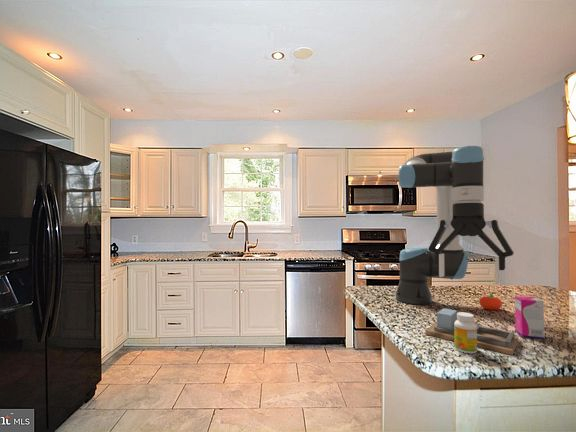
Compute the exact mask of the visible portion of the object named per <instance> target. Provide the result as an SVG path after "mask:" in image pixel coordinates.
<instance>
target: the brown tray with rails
mask: <svg viewBox="0 0 576 432" xmlns="http://www.w3.org/2000/svg"><path fill="white" fill-rule="evenodd" d="M476 326H477V348H481V349H485V350H489V351H494V352H498V353H500V354H507V355H510V356H513V355H514V353H515V350H516V348H517V345H518V342H519V336H515V332H513V331H512V332H511V331H506V330H503V329H497V328H493V327H492V328H491V327H487V326H482V325H477V324H476ZM425 335H427V336H431V337H435V338H439V339H443V338H444V340H447V339H448V341H451V340H452V342H454V330H453V331H452V330H447V329H443V328H438V327H437V321H436V322H434V323H433V324H432V325H430V326H429V327H428V328H427V329H425Z"/></svg>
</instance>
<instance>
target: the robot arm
mask: <svg viewBox="0 0 576 432" xmlns="http://www.w3.org/2000/svg"><path fill="white" fill-rule="evenodd" d="M483 151H484V150H483V148H482V146H478V145H464V146H461V147H457V148H454V149H453V150H452V151H447V152H445V151H443V152H433V153H421V154H418V155H416V156H412V157H410V158H409V159H406V161H405V162H404V164H401V165H400V166H399V167H398V186H399V187H400V188H408V189H411V188H425V187H427V188H428V187H429V188H430V187H435V188H436V233H435V235H434V237H433V239H432V241H431V242H430V245H429V246H428V247H423V246H422V247H411V248H409V247H408V248H404V249H402V250H400V253H399V259H398V261H399V283H398V285H397V288H396V292H395V300H396V301H399V302H401V303H405V304H412V305H429V304H432V303H433V295H432V292H431V289H430V286H429V283H428V282H429V281H428V278H430V279H431V278H432V279H446V280H462V279H463V278H465V276H466V274H467V270H468V265H469V260H468V258H469V255H468V253H467V252H466V251H464V247H463V246H461V245H462V244H460V237H466V236H467V237H468V236H469V237H475V236H478V237H479V238H480V239H481V240H482V241H483V242H484V243H485V244H486V245H487V246H488V247H489V248H490V249H491V250H492V251H493V252H494V253H495V254H496V255H497V256H496V257H495V259H494V261H495V262H494V266H495V269H494V270H495V271H494V272H495V274H494V275H495V277H494V278H495V280H494V282H495V284H500V283H501V271H505V269H506V258H507V257H508V258H509V257H511V256H513V255H514V254H515V253H514V250H513V249H512V248H511V246H510V244H509V242H508V241H507V239H506V238H505V235H504V234H503V233H502V231H501V230H500V228H499V227H500V226H499V222H498V220H497V219H492V220H485V212H484V211H485V205H484V203H483V202H484V200H485V195H484V193H485V192H484V191H485V189H484V160H485V157H484V152H483ZM486 226H488V228H489V229H492V231H493V234H494V235H495V237H496V238H497V240H498V241H499V244H501V247H502V248H503V250H504V251H503V250H502V249H501V248H500V247H499V246H498V245H497V244H496V243H495V242H494V241H493V240H492V239H491V238H490V237H489V236H488V235H487V234H486V233H485V232H484V231H483V230H484V228H485V227H486Z"/></svg>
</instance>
